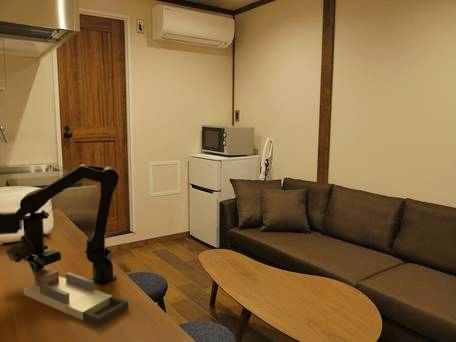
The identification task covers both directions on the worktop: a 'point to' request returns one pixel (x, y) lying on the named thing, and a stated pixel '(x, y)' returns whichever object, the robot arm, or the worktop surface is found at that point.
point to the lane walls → (63, 295)
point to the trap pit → (106, 312)
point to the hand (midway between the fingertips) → (37, 277)
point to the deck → (71, 298)
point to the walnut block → (47, 277)
